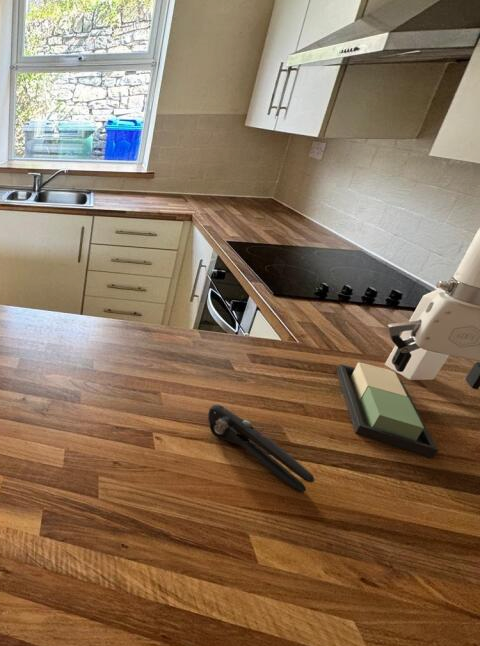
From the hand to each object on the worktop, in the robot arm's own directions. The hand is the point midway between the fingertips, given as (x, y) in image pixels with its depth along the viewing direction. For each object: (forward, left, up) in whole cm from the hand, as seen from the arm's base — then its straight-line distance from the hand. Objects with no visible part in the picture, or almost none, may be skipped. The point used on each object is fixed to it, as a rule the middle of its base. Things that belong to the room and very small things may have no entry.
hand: (433, 376), depth 75 cm
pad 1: (+4, -7, -11) cm, 13 cm away
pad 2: (+4, +3, -11) cm, 12 cm away
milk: (-5, -23, -11) cm, 26 cm away
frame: (+4, -2, -11) cm, 12 cm away
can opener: (+26, +27, -11) cm, 39 cm away
